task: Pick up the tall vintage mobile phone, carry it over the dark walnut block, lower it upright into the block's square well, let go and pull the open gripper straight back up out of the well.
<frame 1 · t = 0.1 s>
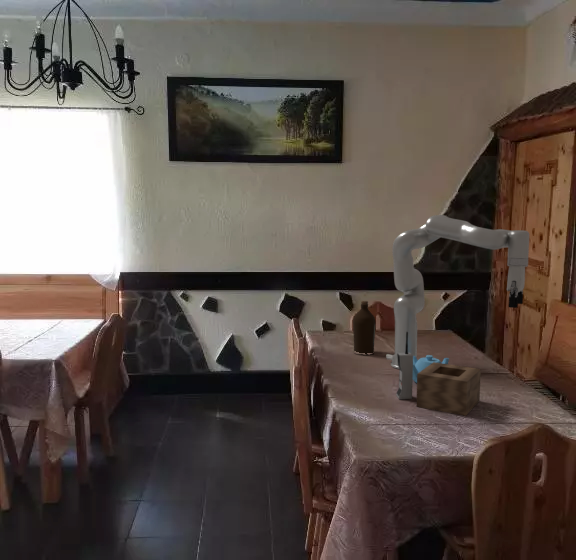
hand: (515, 305, 235), 31 cm above the table, tool pointing down, fingers open, 9 cm apart
well block: (448, 403, 215), on the table
vintage mobile phone: (404, 398, 222), on the table
teapot: (428, 382, 241), on the table
olive oil: (364, 353, 286), on the table
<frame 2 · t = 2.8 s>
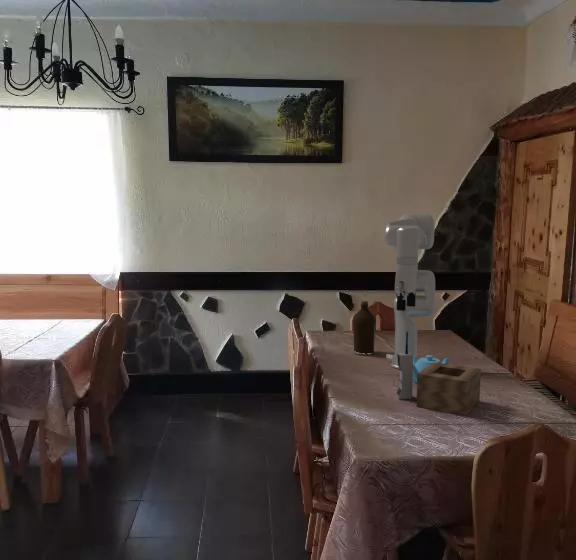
hand: (406, 308, 217), 34 cm above the table, tool pointing down, fingers open, 9 cm apart
nothing on the table moved.
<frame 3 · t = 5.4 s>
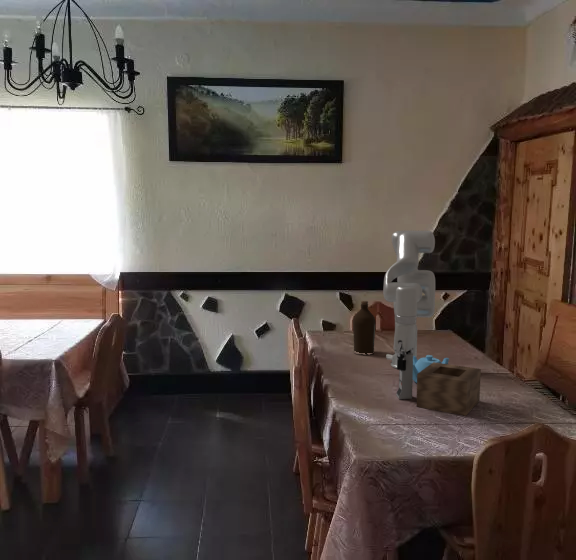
hand: (404, 367, 220), 12 cm above the table, tool pointing down, fingers closed on vintage mobile phone, 5 cm apart
vintage mobile phone: (404, 398, 222), on the table, touching gripper
everything else where it was.
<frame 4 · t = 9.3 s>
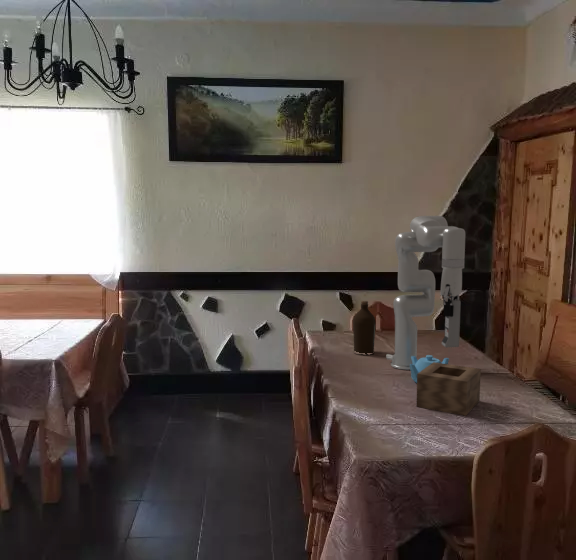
hand: (451, 314, 211), 33 cm above the table, tool pointing down, fingers closed on vintage mobile phone, 5 cm apart
vintage mobile phone: (450, 346, 212), point 21 cm above the table, touching gripper
everything else where it was.
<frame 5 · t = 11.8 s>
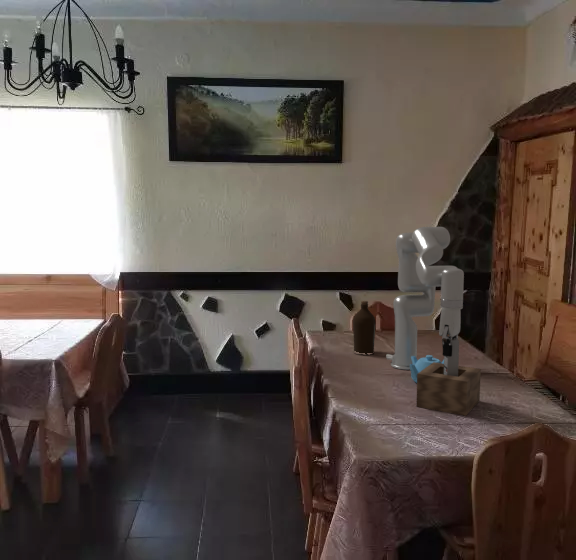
hand: (450, 353, 212), 19 cm above the table, tool pointing down, fingers closed on vintage mobile phone, 5 cm apart
vintage mobile phone: (449, 385, 214), point 7 cm above the table, touching gripper
everything else where it was.
when the fingers open (14 cm above the table, at t = 13.1 s): vintage mobile phone drops 2 cm, resting on well block.
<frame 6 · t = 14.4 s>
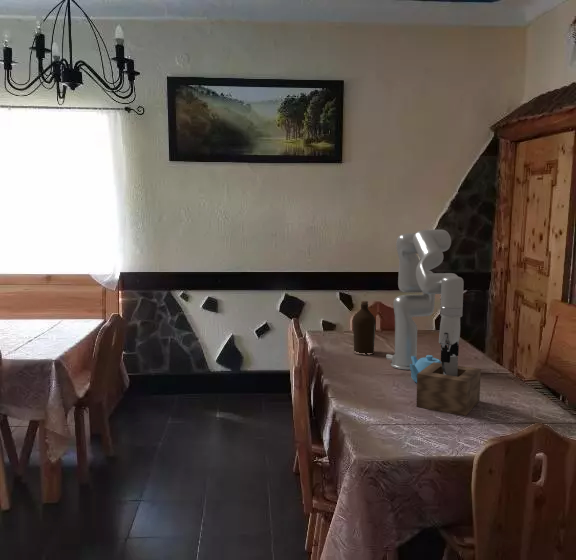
hand: (449, 358, 213), 17 cm above the table, tool pointing down, fingers open, 9 cm apart
vintage mobile phone: (448, 401, 215), point 1 cm above the table, touching well block
everything else where it was.
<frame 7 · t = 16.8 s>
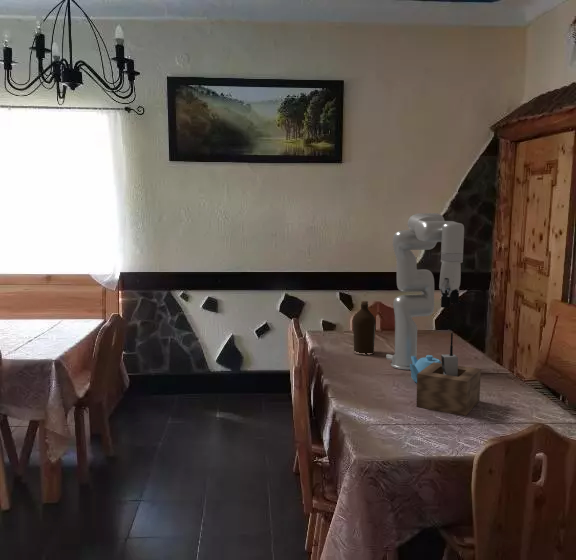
hand: (449, 305, 214), 35 cm above the table, tool pointing down, fingers open, 9 cm apart
nothing on the table moved.
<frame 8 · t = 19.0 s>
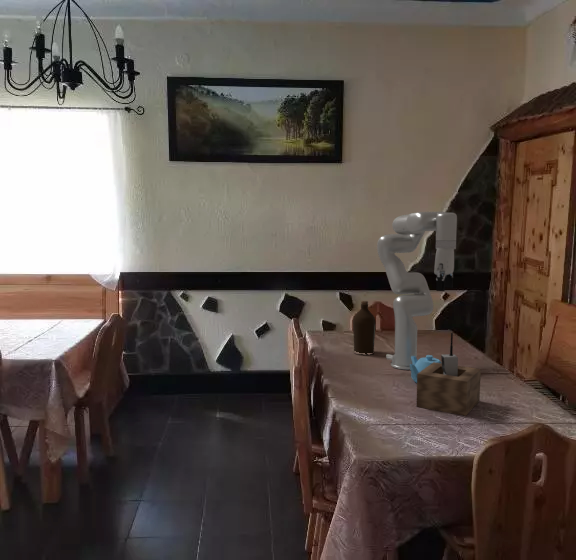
hand: (444, 289, 231), 38 cm above the table, tool pointing down, fingers open, 9 cm apart
nothing on the table moved.
at the end: vintage mobile phone 0.2 cm off-centre on the well block, point 0.8 cm above the well block's base; vintage mobile phone tilted 0°; the gripper is holding nothing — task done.
